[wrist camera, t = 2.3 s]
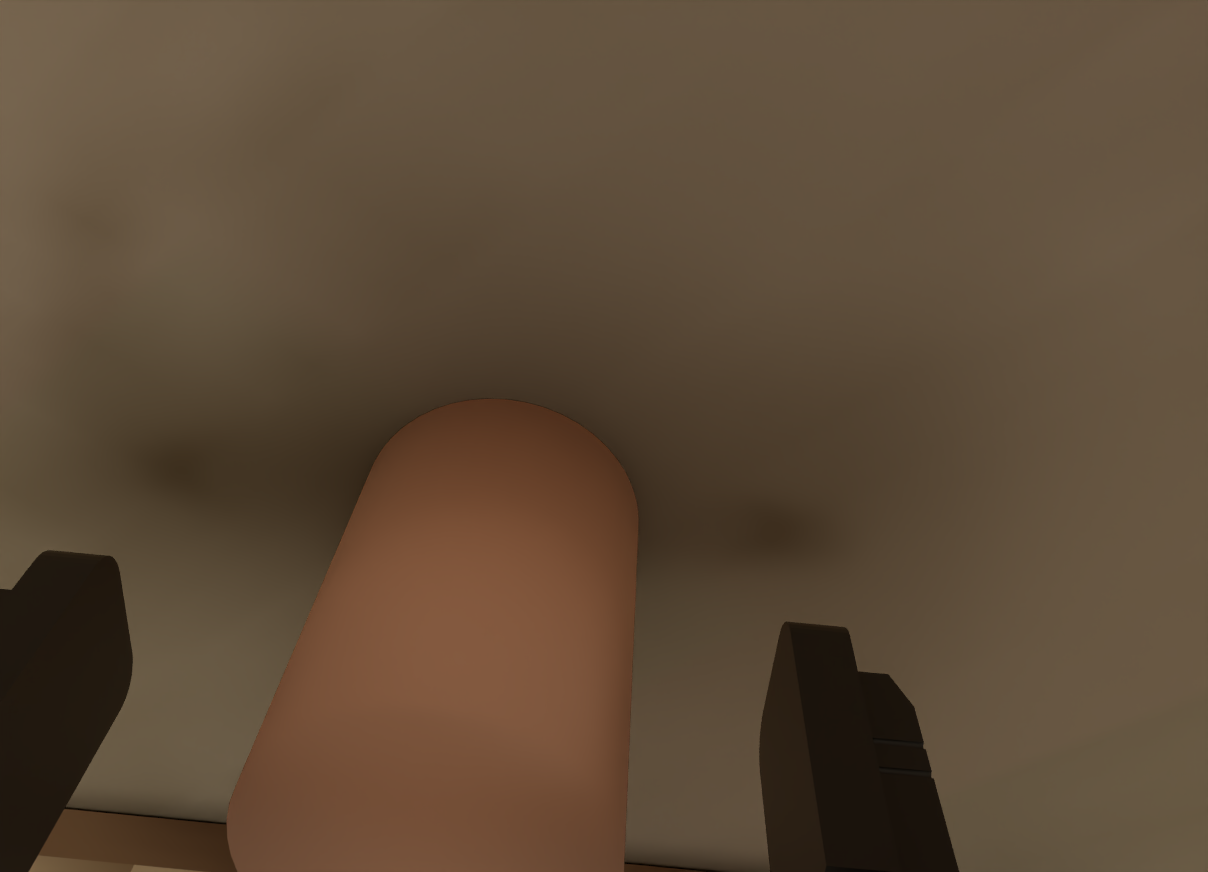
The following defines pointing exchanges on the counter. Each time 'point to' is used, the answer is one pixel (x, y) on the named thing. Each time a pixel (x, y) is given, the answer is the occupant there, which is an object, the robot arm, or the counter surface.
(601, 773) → the terracotta pin
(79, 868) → the pin board
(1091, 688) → the counter surface
